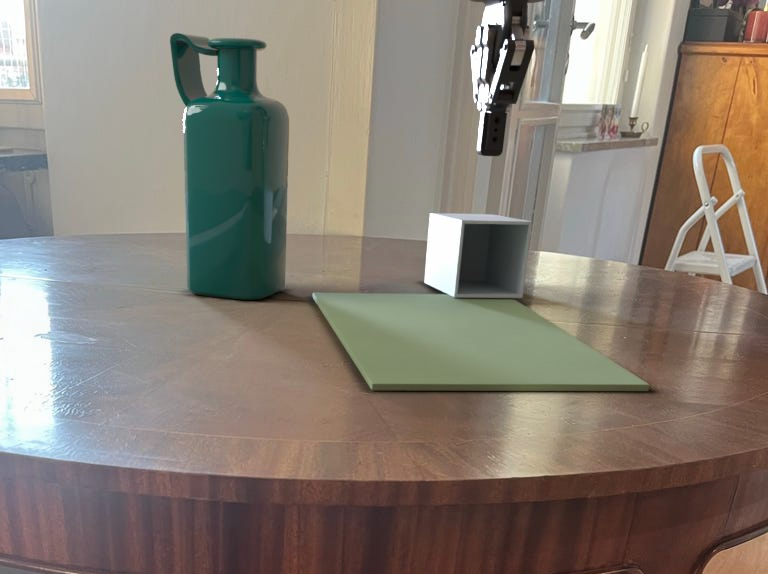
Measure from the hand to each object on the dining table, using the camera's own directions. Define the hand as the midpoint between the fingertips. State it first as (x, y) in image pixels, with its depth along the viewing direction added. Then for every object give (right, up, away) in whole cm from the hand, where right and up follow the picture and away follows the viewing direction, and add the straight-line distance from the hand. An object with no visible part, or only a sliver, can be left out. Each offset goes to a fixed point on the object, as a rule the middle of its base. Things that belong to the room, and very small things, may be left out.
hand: (488, 155), depth 93 cm
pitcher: (-25, -12, +4) cm, 28 cm away
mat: (-6, -22, -12) cm, 25 cm away
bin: (-1, -5, +10) cm, 11 cm away
